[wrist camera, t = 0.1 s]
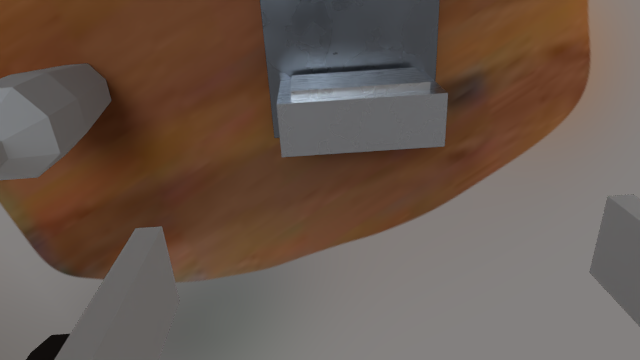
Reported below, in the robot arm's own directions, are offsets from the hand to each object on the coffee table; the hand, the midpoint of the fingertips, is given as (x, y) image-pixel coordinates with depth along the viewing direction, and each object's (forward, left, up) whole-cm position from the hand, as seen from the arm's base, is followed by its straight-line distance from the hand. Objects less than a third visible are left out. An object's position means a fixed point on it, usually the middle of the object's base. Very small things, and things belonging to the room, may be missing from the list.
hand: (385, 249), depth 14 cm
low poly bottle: (+1, -21, -28) cm, 35 cm away
